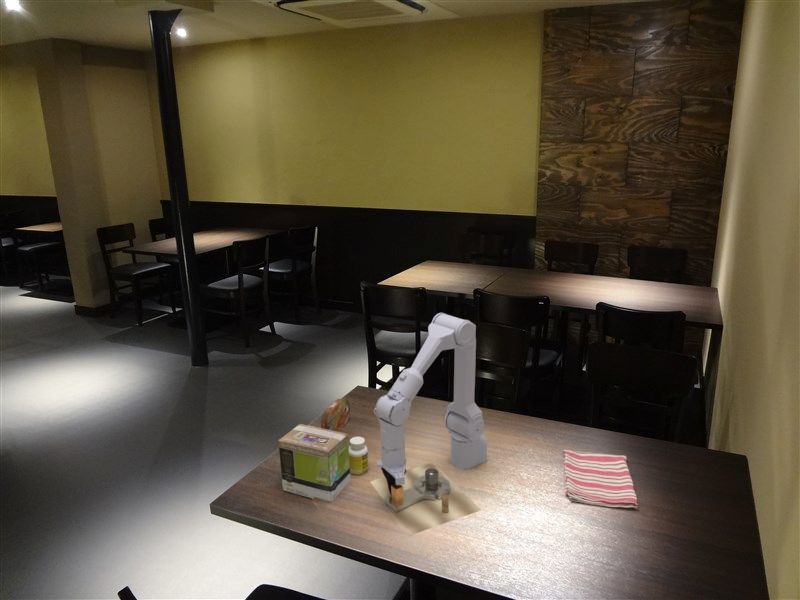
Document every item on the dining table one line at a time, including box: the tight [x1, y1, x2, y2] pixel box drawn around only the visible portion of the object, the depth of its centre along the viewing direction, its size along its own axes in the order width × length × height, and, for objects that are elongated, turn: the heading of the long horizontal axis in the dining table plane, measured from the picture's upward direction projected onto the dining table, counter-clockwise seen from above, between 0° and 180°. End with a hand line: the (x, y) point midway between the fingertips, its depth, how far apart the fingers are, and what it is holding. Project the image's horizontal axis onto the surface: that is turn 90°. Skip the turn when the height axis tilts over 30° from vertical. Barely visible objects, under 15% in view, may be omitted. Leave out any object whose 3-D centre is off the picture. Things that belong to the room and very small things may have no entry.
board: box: [369, 462, 482, 536], centre depth 138 cm, size 19×23×1 cm
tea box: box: [278, 423, 351, 502], centre depth 142 cm, size 15×10×15 cm, turn 65°
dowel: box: [442, 495, 449, 513], centre depth 132 cm, size 2×2×4 cm
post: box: [425, 468, 438, 491], centre depth 140 cm, size 3×3×5 cm
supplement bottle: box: [349, 436, 369, 476], centre depth 149 cm, size 5×5×10 cm
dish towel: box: [562, 449, 639, 510], centre depth 145 cm, size 17×23×4 cm
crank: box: [385, 475, 450, 512], centre depth 137 cm, size 17×9×5 cm, turn 125°
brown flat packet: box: [320, 398, 351, 432], centre depth 172 cm, size 15×3×8 cm, turn 159°
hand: (394, 493), depth 136 cm, fingers closed
